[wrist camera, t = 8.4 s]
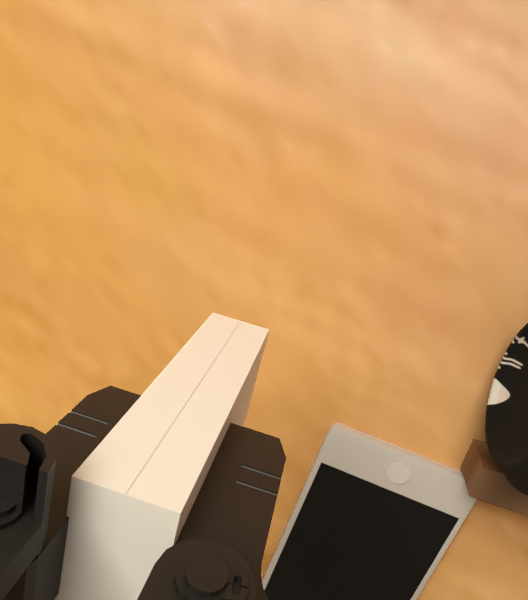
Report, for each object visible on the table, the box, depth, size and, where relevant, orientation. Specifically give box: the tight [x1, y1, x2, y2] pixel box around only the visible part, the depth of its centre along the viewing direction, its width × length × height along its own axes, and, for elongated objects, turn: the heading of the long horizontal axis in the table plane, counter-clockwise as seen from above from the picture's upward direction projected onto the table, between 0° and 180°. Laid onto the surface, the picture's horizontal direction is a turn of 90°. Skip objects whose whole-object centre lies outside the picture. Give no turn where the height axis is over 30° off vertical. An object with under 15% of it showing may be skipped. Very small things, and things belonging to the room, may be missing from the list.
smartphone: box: [262, 423, 477, 600], centre depth 25 cm, size 7×16×1 cm, turn 162°
